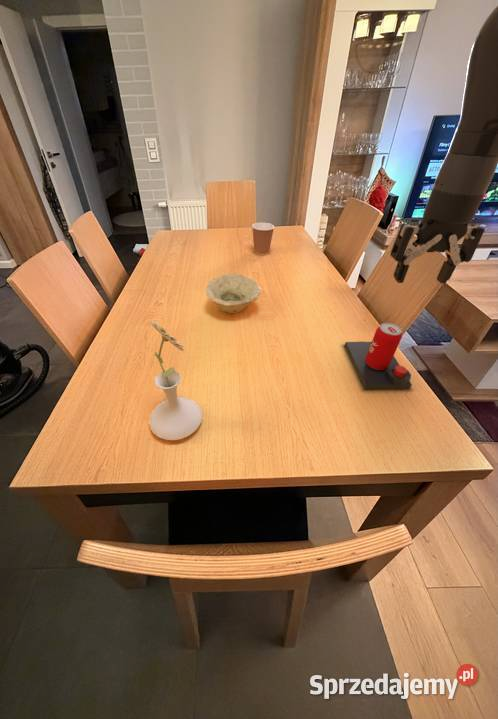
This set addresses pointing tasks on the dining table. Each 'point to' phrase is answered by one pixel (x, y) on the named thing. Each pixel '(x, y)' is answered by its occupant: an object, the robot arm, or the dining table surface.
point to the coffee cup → (262, 237)
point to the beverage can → (383, 346)
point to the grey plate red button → (374, 377)
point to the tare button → (399, 371)
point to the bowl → (233, 292)
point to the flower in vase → (172, 401)
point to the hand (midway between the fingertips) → (419, 281)
